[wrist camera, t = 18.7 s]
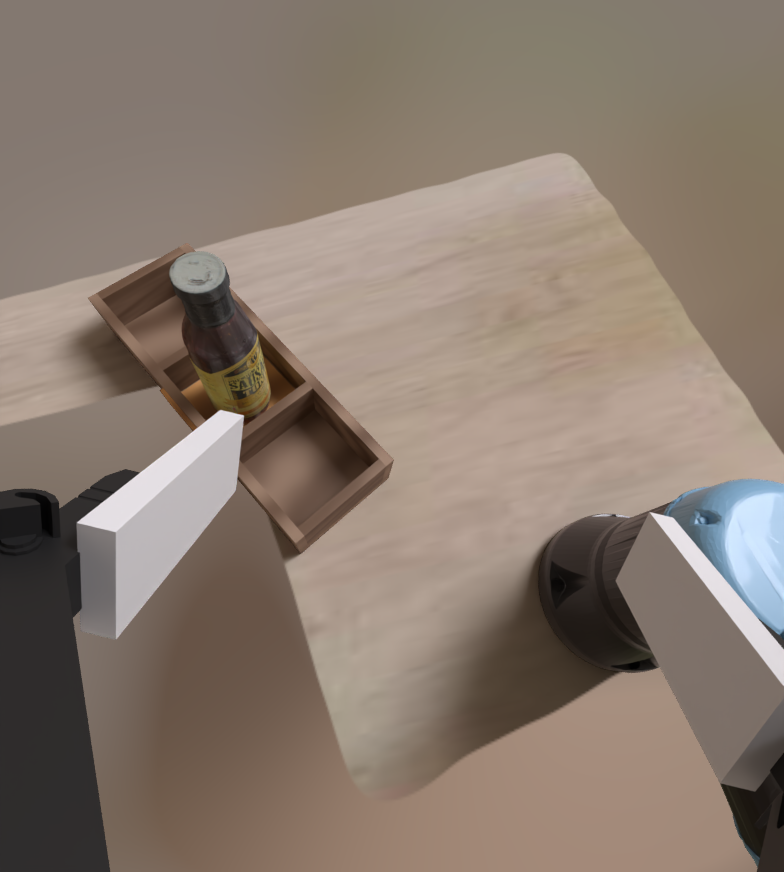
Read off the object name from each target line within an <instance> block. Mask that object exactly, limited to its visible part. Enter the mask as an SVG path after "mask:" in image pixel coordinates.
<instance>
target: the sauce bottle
mask: <svg viewBox="0 0 784 872" xmlns="http://www.w3.org/2000/svg"><path fill="white" fill-rule="evenodd" d="M169 277H170V281H171V284H172V286H173V289H174V292H175V294H176V295H177V296H178V297H179V298H180V299H181V300H182V303H183V305H184V308H185V312H186V313H185V316H184V318H183V322H182V330H181V331H182V338H183V341H184V344H185V346H186V348H187V350H188V354H189V357H190V359H191V361H192V363H193V365H194V368H195V370H196V372H197V374H198V376H199V378H200V380H201V382H202V384H203V386H204V389H205V391H206V393H207V395H208V397H209V399H210V401H211V403H212V405H213V407H214V408H215V409H216V411H217V412H218V411H220V410H223V411H227V412H231V413H235V414H240V415H244V421H243V423H249V422H251V421H253V420H254V419H255V418H257V417H258V416H260V415H261V414H262V413H264V412H265V411H266V410H267V408H268V406H269V401H270V394H271V389H270V384H269V380H268V376H267V371H266V367H265V363H264V359H263V354H262V350H261V346H260V342H259V338H258V334H257V330H256V328H255V327H254V325H253V324H252V322H251V321H250V319H249V318H248V316H247V315H246V314H245V312H244V311H243V309H242V308H241V306H240V305H239V303H238V302H237V301H236V300H234V299H233V297H232V295H231V291H230V288H229V285H230V280H229V275H228V273H227V269H226V267H225V265H224V263H223V262H222V261H221V260H220V258H218V257H217V256H215V255H214V254H211V253H208V252H200V251H197V252H190V253H187V254H184V255H182V256H181V257H179V258H177V259H176V260H175V262H174V263H173V265H172V266H171V267H170V271H169Z"/></svg>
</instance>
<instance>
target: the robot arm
mask: <svg viewBox="0 0 784 872" xmlns="http://www.w3.org/2000/svg"><path fill="white" fill-rule="evenodd" d="M243 421H244V415H240V414H235V413H231V412H227V411H223V410H220V411H218V412H217V413H216V414H215V415H213V416H212V417H211V418H209V419H208V420H207V421H206V422H204V423H203V424H202V425H201V426H199V427H198V428H197V429H195V430H194V431H193V432H192V433H190V434H189V435H188V436H187V437H186V438H184V439H183V440H181V441H180V442H179V443H178V444H177V445H175V446H174V447H172V448H171V449H170V450H169V451H167V452H166V453H165V454H164V455H162V456H161V457H160V458H158V459H157V460H156V461H155V462H153V463H152V464H151V465H150V466H148V467H147V468H146V469H145V470H143V471H142V472H141V473H139V472H135V471H131V470H126V469H125V470H122V471H120V472H116V473H113V474H110V475H108V476H105V477H104V478H102V479H101V480H100V481H98V482H97V483H95V484H94V485H92V486H91V487H90V489H87V490H85V491H84V492H82V493H81V494H80V495H79V496H78V498H74V499H73V500H71V501H70V502H68V503H67V504H66V505H65V506H63V507H61V508H60V509H59V502H58V500H57V499H56V497H55V496H54V495H52V494H50V493H48V492H46V491H42V490H36V489H13V490H7V491H3V492H0V872H110V868H109V861H108V855H107V847H106V840H105V834H104V827H103V820H102V813H101V807H100V800H99V793H98V786H97V780H96V773H95V766H94V759H93V752H92V746H91V739H90V733H89V725H88V718H87V712H86V705H85V698H84V692H83V685H82V678H81V671H80V664H79V657H78V651H77V644H76V637H75V631H74V624H73V617H74V616H75V615H76V614H77V613H78V612H79V611H80V625H81V626H80V627H81V631H82V632H86V633H90V634H94V635H98V636H103V637H107V638H111V639H115V640H116V639H117V638H118V636H119V635H120V634H121V633H122V631H123V630H124V629H125V628H126V627H127V625H128V624H129V623H130V622H131V620H132V619H133V618H134V617H135V615H136V614H137V613H138V612H139V610H140V609H141V608H142V607H143V605H144V604H145V603H146V602H147V600H148V599H149V598H150V597H151V595H152V594H153V593H154V592H155V590H156V589H157V588H158V586H159V585H160V584H161V583H162V582H163V581H164V579H165V578H166V577H167V576H168V574H169V573H170V572H171V571H172V569H173V568H174V567H175V566H176V564H177V563H178V562H179V561H180V559H181V558H182V557H183V556H184V554H185V553H186V552H187V551H188V549H189V548H190V547H191V546H192V545H193V543H194V542H195V541H196V540H197V538H198V537H199V536H200V535H201V533H202V532H203V531H204V530H205V528H206V527H207V526H208V524H209V523H210V522H211V521H212V520H213V518H214V517H215V516H216V515H217V513H218V512H219V511H220V510H221V508H222V507H223V506H224V505H225V504H226V502H227V501H228V500H229V498H230V497H231V496H232V495H233V494H234V492H235V491H236V484H237V476H238V467H239V458H240V448H241V439H242V430H243ZM539 593H540V599H541V603H542V606H543V609H544V612H545V615H546V617H547V619H548V621H549V623H550V625H551V627H552V628H553V630H554V631H555V633H556V634H557V636H558V637H559V638H560V640H561V641H562V642H563V643H564V644H565V645H566V646H567V647H568V648H569V649H570V650H571V651H572V652H573V653H575V654H576V655H577V656H579V657H580V658H582V659H583V660H585V661H587V662H588V663H590V664H592V665H595V666H597V667H600V668H603V669H607V670H612V671H619V672H628V673H636V672H645V671H649V670H653V669H656V668H659V667H660V668H661V670H662V672H663V674H664V676H665V678H666V680H667V682H668V684H669V686H670V687H671V689H672V691H673V693H674V695H675V697H676V699H677V701H678V703H679V705H680V707H681V709H682V711H683V713H684V714H685V716H686V718H687V720H688V722H689V724H690V726H691V728H692V730H693V732H694V734H695V736H696V738H697V740H698V742H699V743H700V746H701V747H702V749H703V751H704V753H705V755H706V757H707V759H708V761H709V763H710V765H711V767H712V769H713V771H714V772H715V775H716V777H717V778H718V780H719V782H720V784H721V787H722V789H723V791H724V794H725V796H726V799H727V801H728V803H729V806H730V808H731V811H732V813H733V819H734V823H735V826H736V829H737V832H738V834H739V837H740V838H741V839H742V840H743V843H744V846H745V848H746V849H747V851H748V852H749V854H750V855H751V856H752V858H753V859H754V861H755V863H756V865H757V867H758V869H757V872H784V484H781V483H777V482H773V481H768V480H759V479H740V480H733V481H728V482H724V483H721V484H718V485H715V486H712V487H703V488H698V489H694V490H691V491H688V492H686V493H684V494H682V495H680V496H679V497H678V498H677V499H675V500H674V501H672V502H670V503H667V504H665V505H663V506H660V507H658V508H655V509H652V510H650V511H647V512H645V513H642V514H639V515H637V516H634V517H632V518H631V517H627V516H623V515H617V514H597V515H592V516H588V517H585V518H582V519H580V520H578V521H576V522H574V523H571V524H570V525H568V526H566V527H565V528H563V529H562V530H561V531H559V532H558V533H557V534H556V535H555V536H554V537H553V539H552V540H551V541H550V543H549V544H548V546H547V548H546V550H545V552H544V554H543V557H542V560H541V564H540V569H539Z"/></svg>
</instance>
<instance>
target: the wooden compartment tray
mask: <svg viewBox="0 0 784 872" xmlns="http://www.w3.org/2000/svg"><path fill="white" fill-rule="evenodd" d="M190 252H196V251H195V250H194V249H193V248H192V247H191V246H190V245H189V244H188V243H186V244H185V245H182V246H181V247H179V248H177V249H175V250H173V251H172V252H170V253H168V254H166V255H164V256H163V257H161V258H159V259H157V260H155V261H154V262H152V263H150V264H148V265H146V266H145V267H143V268H141V269H139V270H137V271H136V272H134V273H132V274H130V275H128V276H127V277H125V278H123V279H121V280H119V281H118V282H116V283H114V284H112V285H110V286H109V287H107V288H105V289H103V290H101V291H100V292H98V293H96V294H94V295H93V296H91V297H89V298H88V299H89V301H90V302H91V303H92V304H93V306H94V307H95V308H96V310H97V311H98V312H99V314H100V315H101V316H102V318H103V319H104V320H105V322H106V323H107V324H108V326H109V327H110V328H111V330H112V331H113V332H114V333H115V334H116V336H117V337H118V338H119V339H120V340H121V342H122V343H123V344H124V345H125V346H126V347H127V349H128V350H129V351H130V352H131V353H132V355H133V356H134V357H135V358H136V359H137V361H138V362H139V363H140V364H141V365H142V366H143V368H144V369H145V370H146V371H147V372H148V374H149V375H150V376H151V377H152V378H153V379H154V381H155V382H156V383H157V384H158V385H159V387H160V388H161V390H160V391H161V393H162V394H163V395H164V397H165V398H166V399H167V401H168V402H169V403H170V405H171V406H172V407H173V408H174V409H175V410H176V412H177V413H178V414H179V415H180V416H181V417H182V419H183V420H184V421H185V422H186V424H187V425H188V426H189V427H190V428H191V429H192V431H194V430H195V429H197V428H198V427H199V426H201V425H202V424H203V423H204V422H206V421H207V420H208V419H209V418H211V417H212V416H213V415H215V414H216V413H217V411H216V409H215V408H214V407H213V405H212V403H211V401H210V399H209V397H208V395H207V393H206V391H205V389H204V386H203V384H202V382H201V380H200V378H199V376H198V374H197V372H196V370H195V368H194V365H193V363H192V361H191V359H190V357H189V354H188V350H187V348H186V346H185V344H184V341H183V338H182V331H181V330H182V322H183V318H184V316H185V313H186V312H185V308H184V305H183V303H182V300H181V299H180V298H179V297H178V296H177V295H176V294H175V292H174V289H173V286H172V284H171V281H170V277H169V271H170V267H171V266H172V265H173V263H174V262H175V260H176V259H177V258H179V257H181V256H182V255H184V254H187V253H190ZM229 288H230V287H229ZM230 291H231V295H232V297H233V299H234V300H236V301H237V302H238V303H239V305H240V306H241V308H242V309H243V311H244V312H245V314H246V315H247V316H248V318H249V319H250V321H251V322H252V324H253V325H254V327H255V328H256V330H257V334H258V338H259V342H260V346H261V350H262V354H263V359H264V363H265V367H266V371H267V376H268V380H269V384H270V389H271V394H270V401H269V406H268V408H267V410H266V411H265V412H264V413H262V414H261V415H260V416H258V417H257V418H255V419H254V420H253V421H251V422H249V423H243V430H242V439H241V448H240V458H239V467H238V476H237V479H238V480H239V481H240V482H241V484H242V485H243V486H244V487H245V488H246V489H247V491H248V492H249V493H250V494H251V495H252V496H253V498H254V499H255V500H256V501H257V502H258V504H259V505H260V506H261V507H262V508H263V509H264V511H265V512H266V513H267V514H268V515H269V517H270V518H271V519H272V520H273V521H274V523H275V524H276V525H277V526H278V527H279V529H280V530H281V531H282V532H283V533H284V534H285V536H286V537H287V538H288V539H289V540H290V542H291V543H292V544H293V545H294V546H295V547H296V549H297V550H298V551H299V552H300V553H302V552H304V551H305V550H306V549H307V548H308V547H309V546H310V545H312V544H313V543H314V542H315V541H316V540H317V539H319V538H320V537H321V536H322V535H323V534H324V533H325V532H327V531H328V530H329V529H330V528H331V527H332V526H334V525H335V524H336V523H337V522H338V521H339V520H341V519H342V518H343V517H344V516H345V515H346V514H347V513H349V512H350V511H351V510H352V509H353V508H354V507H356V506H357V505H358V504H359V503H360V502H361V501H362V500H364V499H365V498H366V497H367V496H368V495H369V494H371V493H372V492H373V491H374V490H375V489H376V488H378V487H379V486H380V485H381V484H382V483H383V482H384V481H386V480H387V479H388V478H389V474H390V471H391V468H392V464H393V461H394V459H393V458H392V457H391V456H390V455H389V454H388V453H387V452H386V451H385V450H384V449H383V448H382V447H381V446H380V445H379V444H378V443H377V442H376V441H375V440H374V438H373V437H372V436H371V435H370V434H369V433H368V432H367V431H366V430H365V429H364V428H363V427H362V426H361V425H360V424H359V423H358V422H357V421H356V420H355V419H354V417H353V416H352V415H351V414H350V413H349V412H348V411H347V410H346V409H345V408H344V407H343V406H342V405H341V404H340V403H339V402H338V401H337V400H336V399H335V397H334V396H333V395H332V394H331V393H330V392H329V391H328V390H327V389H326V388H325V387H324V386H323V385H322V384H321V383H320V382H319V381H318V380H317V379H316V378H315V376H314V375H313V374H312V373H311V372H310V371H309V370H308V369H307V368H306V367H305V366H304V365H303V364H302V363H301V362H300V361H299V360H298V359H297V358H296V356H295V355H294V354H293V353H292V352H291V351H290V350H289V349H288V348H287V347H286V346H285V345H284V344H283V343H282V342H281V341H280V340H279V339H278V338H277V337H276V335H275V334H274V333H273V332H272V331H271V330H270V329H269V328H268V327H267V326H266V325H265V324H264V323H263V322H262V321H261V320H260V319H259V318H258V317H257V316H256V314H255V313H254V312H253V311H252V310H251V309H250V308H249V307H248V306H247V305H246V304H245V303H244V302H243V301H242V300H241V299H240V298H239V297H238V296H237V294H236V293H235V292H234V291H233V290H232V289H231V288H230Z"/></svg>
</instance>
